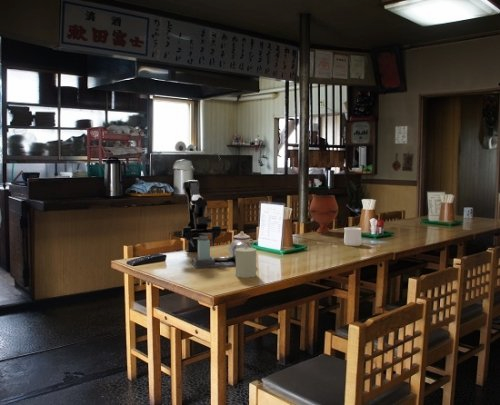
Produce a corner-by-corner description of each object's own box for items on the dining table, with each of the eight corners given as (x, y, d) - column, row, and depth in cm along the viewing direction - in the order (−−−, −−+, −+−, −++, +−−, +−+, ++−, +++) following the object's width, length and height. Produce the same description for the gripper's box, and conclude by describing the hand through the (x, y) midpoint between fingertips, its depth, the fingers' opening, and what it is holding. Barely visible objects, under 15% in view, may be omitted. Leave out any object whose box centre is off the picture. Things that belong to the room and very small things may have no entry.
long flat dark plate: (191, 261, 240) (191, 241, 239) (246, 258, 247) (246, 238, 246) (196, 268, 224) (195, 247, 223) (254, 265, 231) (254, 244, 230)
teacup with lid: (239, 255, 253) (239, 233, 252) (230, 252, 261) (230, 231, 259) (258, 253, 260) (258, 231, 259) (248, 250, 267) (248, 229, 266)
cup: (362, 246, 280) (363, 229, 279) (345, 246, 280) (345, 229, 279) (359, 243, 289) (359, 227, 288) (342, 243, 290) (343, 227, 289)
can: (255, 272, 217) (255, 246, 216) (256, 277, 208) (256, 250, 207) (235, 272, 217) (235, 246, 216) (235, 278, 208) (235, 250, 207)
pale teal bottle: (197, 261, 235) (197, 235, 233) (208, 260, 236) (207, 234, 235) (199, 263, 230) (199, 236, 229) (210, 263, 231) (209, 236, 230)
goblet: (343, 232, 328) (344, 195, 326) (321, 235, 318) (322, 197, 316) (325, 228, 344) (325, 193, 342) (303, 231, 334) (304, 195, 332)
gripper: (182, 210, 234) (185, 237, 224) (220, 209, 238) (225, 235, 229) (180, 224, 242) (183, 250, 233) (217, 223, 247) (221, 248, 237)
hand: (203, 246), depth 233 cm, fingers open, 9 cm apart
